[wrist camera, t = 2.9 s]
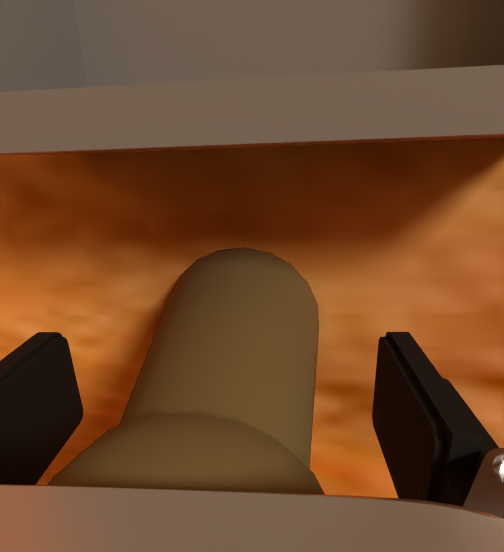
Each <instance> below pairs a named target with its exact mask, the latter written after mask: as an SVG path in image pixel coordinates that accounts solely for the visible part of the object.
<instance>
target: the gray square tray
mask: <svg viewBox="0 0 504 552" xmlns="http://www.w3.org/2000/svg"><path fill="white" fill-rule="evenodd" d="M483 138H504V0H0V155H17V154H90V153H116V152H142V151H169V150H195V149H221V148H247V147H273V146H299V145H326V144H352V143H378V142H404V141H430V140H456V139H483Z"/></svg>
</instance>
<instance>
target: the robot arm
mask: <svg viewBox="0 0 504 552" xmlns="http://www.w3.org/2000/svg"><path fill="white" fill-rule="evenodd" d="M82 417H83V407H82V403H81V398H80V394H79V389H78V385H77V381H76V376H75V372H74V367H73V363H72V358H71V354H70V350H69V345H68V341H67V339H66V338H65V337H62V335H61V334H60V333H58V332H39V333H37V334H35V335H34V336H32V337H31V338H30V339H28V340H27V341H26V342H24V343H23V344H22V345H21V346H19V347H18V348H17V349H15V350H14V351H13V352H11V353H10V354H9V355H7V356H6V357H5V358H3V359H2V360H1V361H0V552H504V448H499V447H498V446H497V444H496V443H495V442H494V440H493V439H492V438H491V436H490V435H489V434H488V432H487V431H486V430H485V428H484V427H483V426H482V424H481V423H480V422H479V420H478V419H477V418H476V416H475V415H474V413H473V412H472V411H471V409H470V408H469V407H468V405H467V404H466V403H465V401H464V400H463V399H462V397H461V396H460V395H459V393H458V392H457V391H456V389H455V388H454V387H453V385H452V384H451V383H450V382H449V381H448V380H447V379H445V378H442V377H441V376H440V374H439V373H438V371H437V370H436V369H435V367H434V366H433V365H432V363H431V362H430V360H429V359H428V358H427V356H426V355H425V354H424V352H423V351H422V349H421V348H420V347H419V345H418V344H417V343H416V341H415V340H414V338H413V337H412V336H411V334H410V333H409V332H387V333H386V336H385V337H380V339H379V344H378V356H377V367H376V378H375V390H374V401H373V412H372V419H373V426H374V429H375V432H376V435H377V438H378V441H379V444H380V446H381V449H382V452H383V455H384V458H385V461H386V464H387V466H388V469H389V472H390V475H391V478H392V481H393V483H394V486H395V489H396V492H397V495H398V498H399V499H397V498H383V497H369V496H349V495H322V494H295V493H268V492H240V491H209V490H178V489H146V488H114V487H81V486H48V485H35V484H36V483H37V482H38V480H39V479H40V478H41V476H42V475H43V473H44V472H45V471H46V469H47V468H48V467H49V465H50V464H51V462H52V461H53V460H54V458H55V457H56V455H57V454H58V453H59V451H60V450H61V449H62V447H63V446H64V444H65V443H66V442H67V440H68V439H69V437H70V436H71V435H72V433H73V432H74V431H75V429H76V428H77V426H78V425H79V424H80V422H81V420H82Z"/></svg>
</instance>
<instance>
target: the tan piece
mask: <svg viewBox="0 0 504 552" xmlns="http://www.w3.org/2000/svg"><path fill="white" fill-rule="evenodd" d="M318 334H319V319H318V305H317V302H316V300H315V298H314V295H313V293H312V291H311V288H310V286H309V284H308V282H307V281H306V280H305V279H304V278H303V277H302V276H301V275H300V274H299V273H298V272H297V270H296V269H295V268H294V267H293V266H292V265H290V264H289V263H287V262H285V261H283V260H282V259H280V258H278V257H276V256H274V255H273V254H271V253H268V252H263V251H259V250H254V249H249V248H235V249H226V250H219V251H216V252H214V253H212V254H210V255H207V256H205V257H203V258H201V259H198V260H197V261H196V262H195V263H193V264H192V265H191V266H190V267H189V268H188V269H187V270H186V271H185V272H184V273H183V274H182V275H181V276H180V277H179V279H178V281H177V283H176V285H175V287H174V289H173V291H172V293H171V295H170V297H169V300H168V302H167V305H166V307H165V310H164V313H163V315H162V318H161V320H160V323H159V325H158V328H157V330H156V333H155V335H154V338H153V340H152V343H151V345H150V348H149V350H148V353H147V355H146V358H145V361H144V363H143V366H142V368H141V371H140V373H139V376H138V378H137V381H136V383H135V386H134V388H133V391H132V393H131V396H130V398H129V401H128V404H127V406H126V409H125V411H124V414H123V416H122V419H121V421H120V424H119V426H118V427H115V428H113V429H110V430H108V431H107V432H106V433H104V434H103V435H102V436H101V437H100V438H98V439H97V440H96V441H95V442H93V443H92V444H91V445H90V446H89V447H87V448H86V449H85V450H84V451H83V452H81V453H80V454H79V455H78V456H77V457H76V458H75V459H73V460H72V461H71V462H70V463H69V464H68V465H67V466H65V467H64V468H63V469H62V470H61V471H60V472H59V473H58V474H56V475H55V476H54V477H53V478H52V479H51V481H50V482H49V484H48V486H81V487H114V488H146V489H178V490H209V491H240V492H268V493H295V494H322V495H325V494H324V492H323V490H322V488H321V486H320V484H319V482H318V480H317V479H316V477H315V475H314V473H313V472H312V471H311V470H310V469H309V467H310V453H311V438H312V423H313V408H314V393H315V378H316V364H317V349H318Z"/></svg>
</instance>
